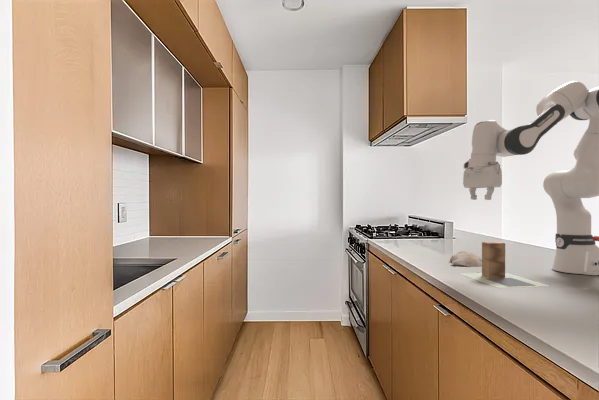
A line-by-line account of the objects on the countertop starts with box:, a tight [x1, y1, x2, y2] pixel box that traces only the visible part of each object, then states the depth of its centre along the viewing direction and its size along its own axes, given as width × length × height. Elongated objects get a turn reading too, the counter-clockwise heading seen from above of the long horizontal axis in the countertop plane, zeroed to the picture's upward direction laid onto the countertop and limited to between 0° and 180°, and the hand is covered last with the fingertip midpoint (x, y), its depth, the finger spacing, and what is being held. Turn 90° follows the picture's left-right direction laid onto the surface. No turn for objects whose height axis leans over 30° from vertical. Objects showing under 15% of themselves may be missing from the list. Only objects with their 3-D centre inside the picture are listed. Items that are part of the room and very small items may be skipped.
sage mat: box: [458, 272, 550, 289], centre depth 142 cm, size 18×24×1 cm
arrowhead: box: [450, 250, 482, 268], centre depth 183 cm, size 14×5×30 cm
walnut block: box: [481, 241, 506, 278], centre depth 146 cm, size 6×4×12 cm
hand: (480, 199), depth 157 cm, fingers open, 8 cm apart
